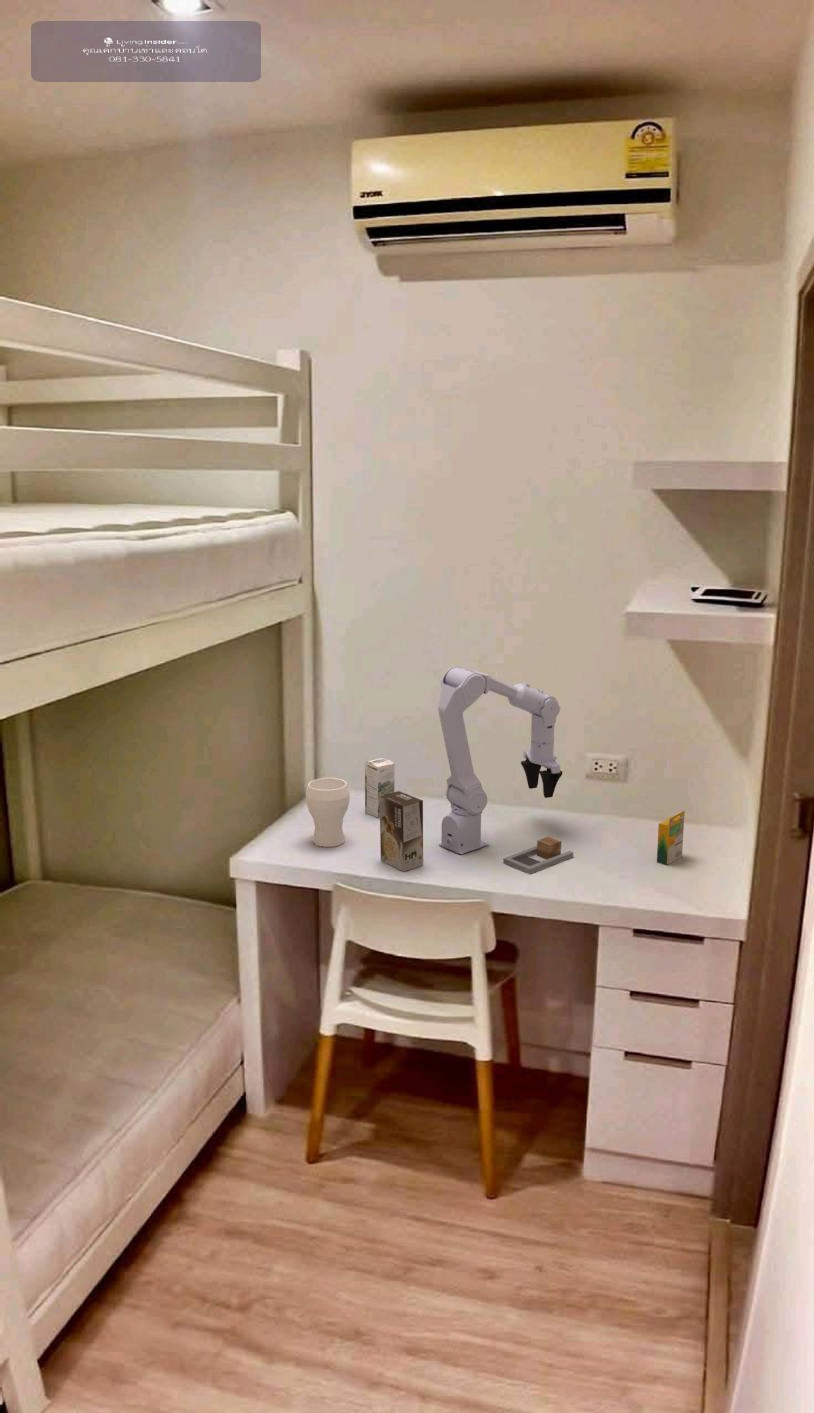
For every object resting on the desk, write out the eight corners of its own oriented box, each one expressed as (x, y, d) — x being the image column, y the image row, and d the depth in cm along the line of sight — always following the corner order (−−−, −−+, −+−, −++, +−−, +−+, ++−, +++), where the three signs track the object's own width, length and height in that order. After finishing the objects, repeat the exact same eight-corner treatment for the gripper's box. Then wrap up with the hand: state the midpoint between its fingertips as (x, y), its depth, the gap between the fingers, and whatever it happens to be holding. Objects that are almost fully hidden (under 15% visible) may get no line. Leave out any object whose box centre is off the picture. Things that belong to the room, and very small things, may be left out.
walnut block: (549, 861, 237) (549, 845, 236) (536, 856, 239) (537, 840, 238) (560, 856, 239) (561, 841, 238) (547, 851, 242) (548, 836, 241)
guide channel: (529, 874, 229) (529, 869, 229) (503, 862, 235) (503, 858, 235) (573, 856, 239) (573, 852, 238) (546, 846, 245) (546, 842, 245)
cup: (306, 849, 243) (304, 791, 240) (308, 833, 254) (307, 777, 250) (349, 849, 244) (348, 790, 240) (350, 833, 254) (349, 776, 250)
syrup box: (381, 808, 272) (380, 756, 268) (395, 813, 267) (394, 761, 264) (364, 812, 268) (363, 761, 265) (378, 818, 264) (377, 766, 260)
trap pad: (532, 868, 232) (532, 867, 232) (516, 862, 236) (516, 860, 236) (543, 864, 235) (543, 862, 234) (528, 857, 238) (528, 856, 238)
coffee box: (424, 865, 234) (424, 800, 230) (403, 872, 230) (403, 806, 226) (399, 853, 241) (399, 790, 237) (378, 860, 237) (378, 796, 233)
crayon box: (671, 853, 241) (674, 807, 238) (682, 856, 239) (685, 810, 236) (655, 862, 236) (658, 815, 233) (667, 865, 234) (670, 818, 231)
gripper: (571, 746, 246) (569, 799, 250) (541, 732, 259) (539, 782, 263) (546, 749, 244) (544, 802, 247) (517, 735, 257) (515, 785, 260)
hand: (540, 792), depth 255 cm, fingers open, 7 cm apart
